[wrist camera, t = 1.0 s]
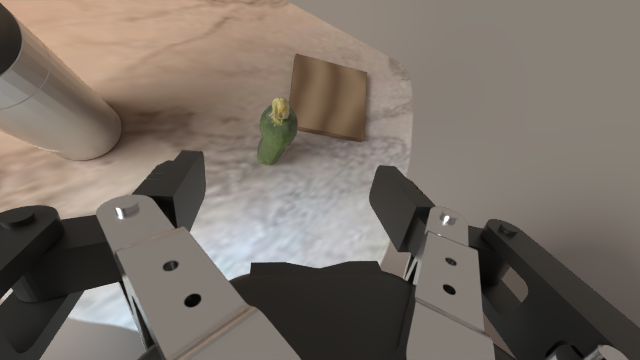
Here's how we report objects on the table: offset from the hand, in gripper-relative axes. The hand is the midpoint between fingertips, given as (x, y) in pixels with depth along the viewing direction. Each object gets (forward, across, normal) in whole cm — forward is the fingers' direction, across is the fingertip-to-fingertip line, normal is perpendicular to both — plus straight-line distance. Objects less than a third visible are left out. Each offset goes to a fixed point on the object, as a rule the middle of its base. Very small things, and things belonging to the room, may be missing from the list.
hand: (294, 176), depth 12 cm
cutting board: (+37, -9, +3) cm, 38 cm away
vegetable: (+29, +1, +12) cm, 31 cm away
